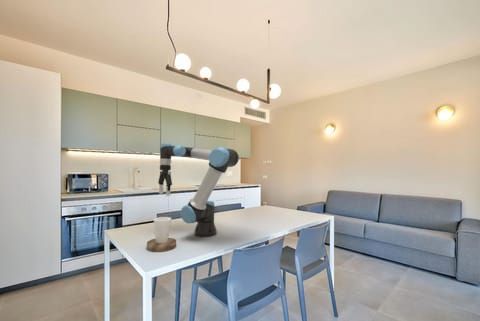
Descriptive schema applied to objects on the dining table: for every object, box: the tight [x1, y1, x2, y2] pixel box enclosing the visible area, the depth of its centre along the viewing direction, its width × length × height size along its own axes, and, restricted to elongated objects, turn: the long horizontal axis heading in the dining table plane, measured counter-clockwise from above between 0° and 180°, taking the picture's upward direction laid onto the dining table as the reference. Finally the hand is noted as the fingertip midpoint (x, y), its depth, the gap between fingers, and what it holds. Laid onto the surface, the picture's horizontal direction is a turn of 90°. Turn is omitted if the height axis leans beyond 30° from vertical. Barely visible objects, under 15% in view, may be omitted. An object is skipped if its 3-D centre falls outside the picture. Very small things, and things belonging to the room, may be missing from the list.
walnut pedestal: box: [146, 237, 177, 253], centre depth 129 cm, size 16×16×3 cm
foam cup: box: [153, 216, 172, 243], centre depth 130 cm, size 10×9×13 cm
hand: (164, 194), depth 159 cm, fingers open, 13 cm apart
